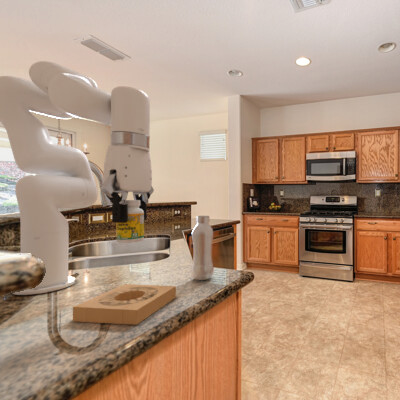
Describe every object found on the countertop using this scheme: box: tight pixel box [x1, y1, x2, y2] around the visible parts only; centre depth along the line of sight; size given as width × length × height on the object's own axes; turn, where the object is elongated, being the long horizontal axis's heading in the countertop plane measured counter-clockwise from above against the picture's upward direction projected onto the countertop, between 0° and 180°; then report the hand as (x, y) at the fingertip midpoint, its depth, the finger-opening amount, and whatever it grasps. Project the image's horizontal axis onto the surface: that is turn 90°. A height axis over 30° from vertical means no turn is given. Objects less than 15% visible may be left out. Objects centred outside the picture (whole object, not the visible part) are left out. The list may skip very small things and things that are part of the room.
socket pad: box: [72, 283, 177, 326], centre depth 59 cm, size 14×14×3 cm
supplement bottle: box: [115, 199, 145, 244], centre depth 59 cm, size 5×5×10 cm
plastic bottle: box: [191, 215, 215, 281], centre depth 80 cm, size 6×7×20 cm
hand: (130, 220), depth 59 cm, fingers closed on supplement bottle, 5 cm apart
